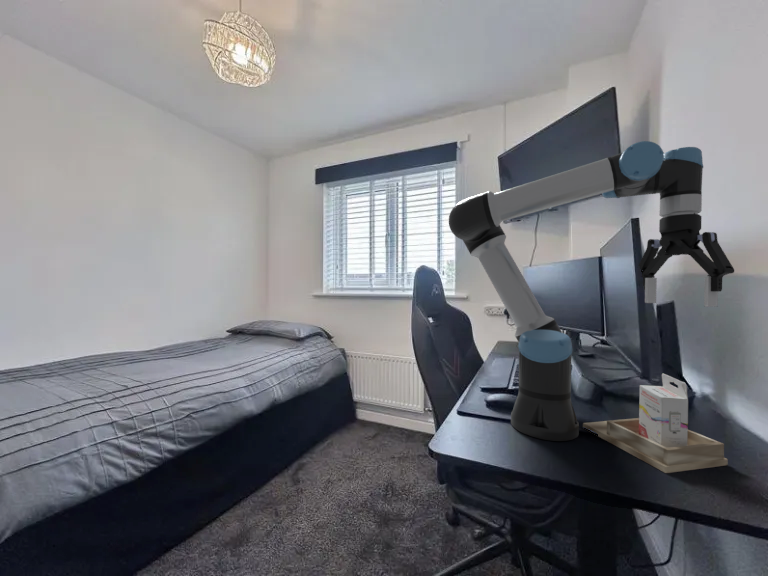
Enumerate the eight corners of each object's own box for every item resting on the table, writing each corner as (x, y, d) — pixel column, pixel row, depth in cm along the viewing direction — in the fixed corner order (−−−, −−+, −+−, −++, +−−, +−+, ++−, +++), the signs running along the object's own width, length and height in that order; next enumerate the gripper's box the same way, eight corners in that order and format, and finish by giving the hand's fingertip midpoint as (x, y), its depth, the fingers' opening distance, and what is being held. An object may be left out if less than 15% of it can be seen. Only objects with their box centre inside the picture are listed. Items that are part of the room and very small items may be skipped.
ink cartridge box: (636, 435, 76) (638, 371, 76) (661, 437, 75) (663, 372, 75) (660, 454, 67) (661, 382, 67) (688, 457, 66) (690, 383, 66)
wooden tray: (582, 427, 82) (583, 410, 82) (633, 423, 85) (633, 406, 85) (665, 473, 63) (666, 451, 63) (727, 465, 66) (728, 444, 66)
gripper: (759, 204, 68) (757, 308, 69) (643, 225, 93) (641, 301, 93) (731, 202, 67) (728, 308, 67) (620, 224, 91) (618, 301, 92)
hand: (678, 304), depth 80 cm, fingers open, 13 cm apart
